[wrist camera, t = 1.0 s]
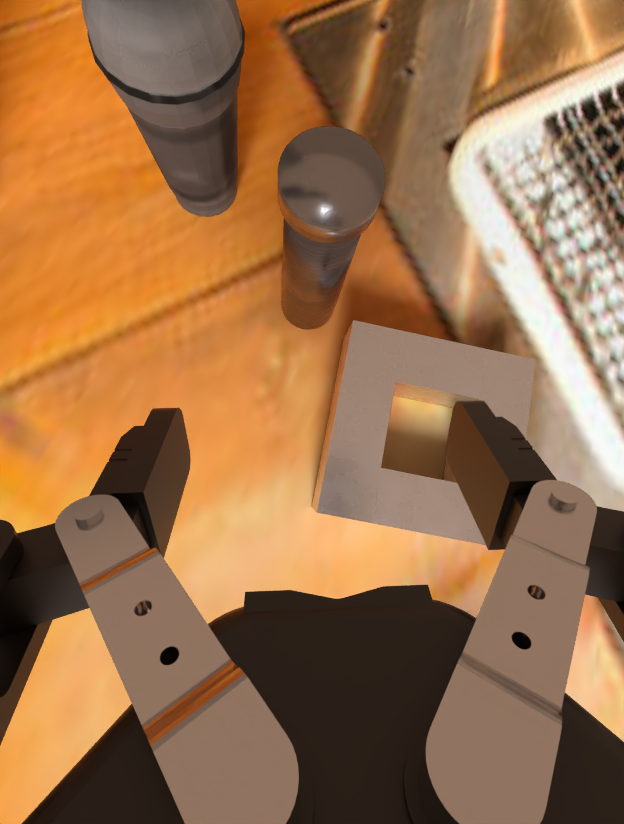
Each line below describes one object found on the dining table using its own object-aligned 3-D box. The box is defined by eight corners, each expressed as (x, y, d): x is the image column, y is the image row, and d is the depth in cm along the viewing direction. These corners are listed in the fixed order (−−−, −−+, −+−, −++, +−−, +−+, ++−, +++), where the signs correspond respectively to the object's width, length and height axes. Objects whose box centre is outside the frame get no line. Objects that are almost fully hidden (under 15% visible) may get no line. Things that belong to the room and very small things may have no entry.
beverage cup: (208, 124, 33) (107, -391, 13) (276, 191, 33) (277, -233, 13) (133, 184, 32) (-98, -279, 12) (203, 254, 32) (83, -104, 12)
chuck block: (311, 507, 30) (316, 512, 26) (343, 338, 32) (353, 319, 28) (481, 539, 31) (512, 550, 27) (504, 373, 32) (535, 359, 28)
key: (271, 326, 31) (267, 212, 18) (284, 268, 32) (289, 115, 18) (332, 339, 32) (375, 236, 18) (343, 282, 32) (393, 140, 18)
